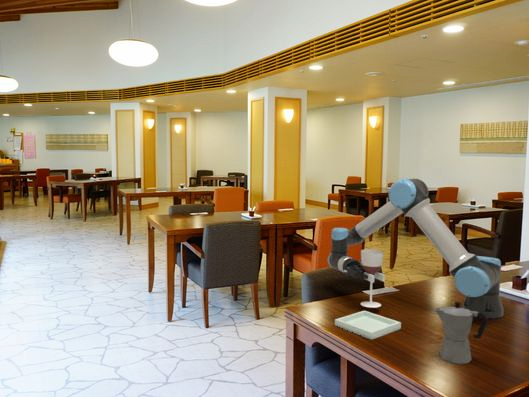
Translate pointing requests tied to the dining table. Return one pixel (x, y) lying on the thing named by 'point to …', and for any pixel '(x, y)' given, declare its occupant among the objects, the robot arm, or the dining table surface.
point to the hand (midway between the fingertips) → (378, 278)
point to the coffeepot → (458, 332)
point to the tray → (368, 324)
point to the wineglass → (371, 269)
